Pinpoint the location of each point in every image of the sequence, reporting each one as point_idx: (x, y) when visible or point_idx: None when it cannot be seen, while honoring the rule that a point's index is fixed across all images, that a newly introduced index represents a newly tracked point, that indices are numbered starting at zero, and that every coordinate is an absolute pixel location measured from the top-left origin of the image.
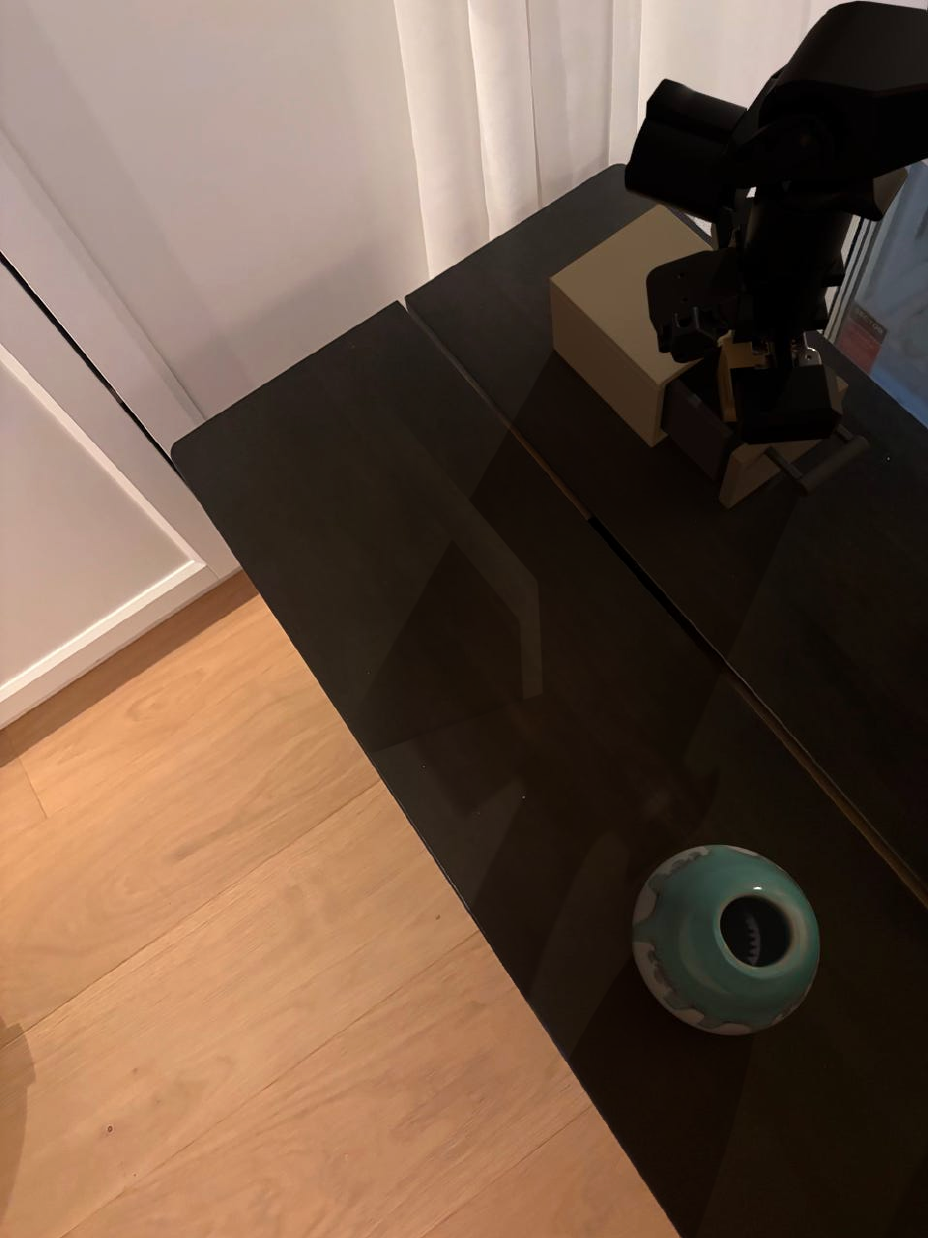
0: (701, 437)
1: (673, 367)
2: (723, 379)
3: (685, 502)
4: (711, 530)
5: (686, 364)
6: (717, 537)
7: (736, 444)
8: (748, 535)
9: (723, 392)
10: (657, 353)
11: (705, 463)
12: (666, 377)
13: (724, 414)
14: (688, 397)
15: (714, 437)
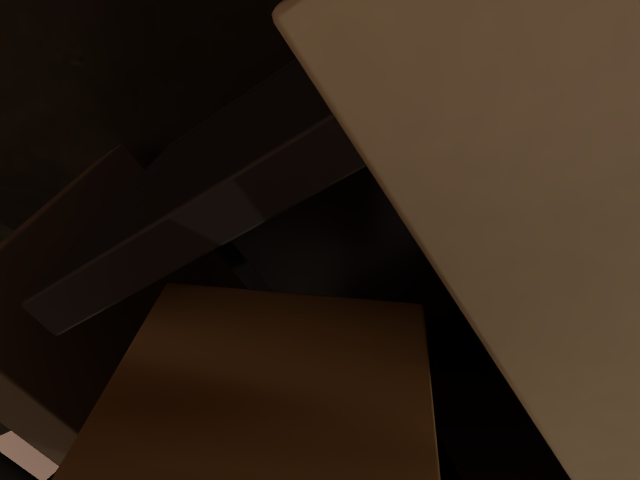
0: (179, 166)
1: (419, 159)
2: (269, 399)
3: (135, 43)
4: (55, 104)
5: (421, 246)
6: (37, 116)
7: (270, 230)
8: (57, 190)
9: (227, 361)
10: (602, 52)
11: (188, 137)
12: (331, 94)
13: (146, 320)
14: (240, 189)
15: (95, 237)
